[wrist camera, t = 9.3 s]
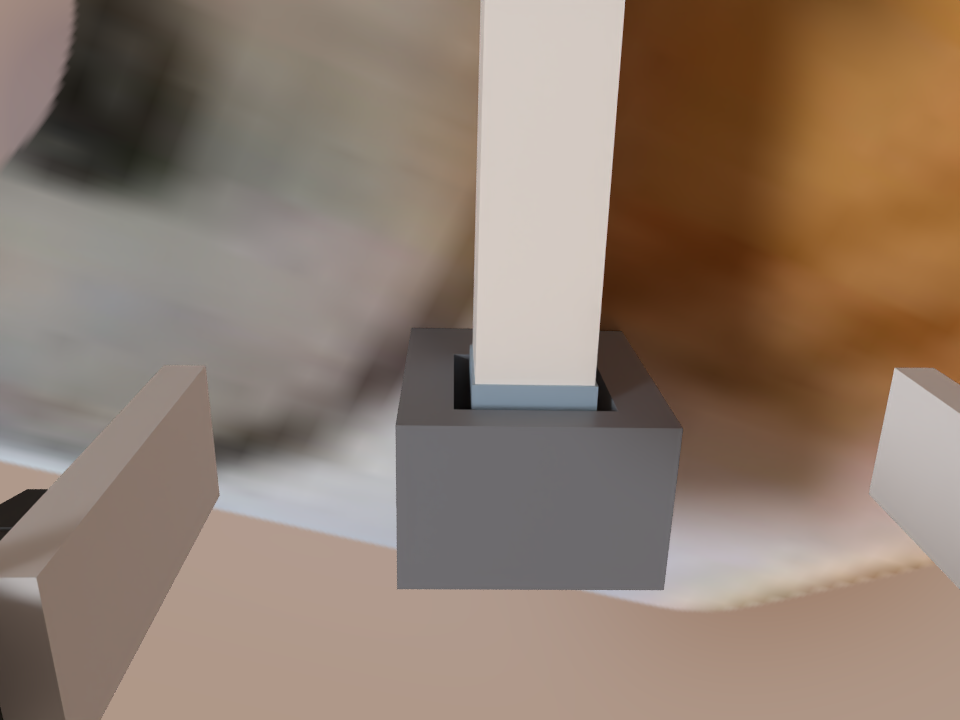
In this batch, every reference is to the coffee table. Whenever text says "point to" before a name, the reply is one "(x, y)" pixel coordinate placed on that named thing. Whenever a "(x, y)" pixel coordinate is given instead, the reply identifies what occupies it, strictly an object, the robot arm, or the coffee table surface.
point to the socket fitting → (532, 479)
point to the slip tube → (542, 200)
